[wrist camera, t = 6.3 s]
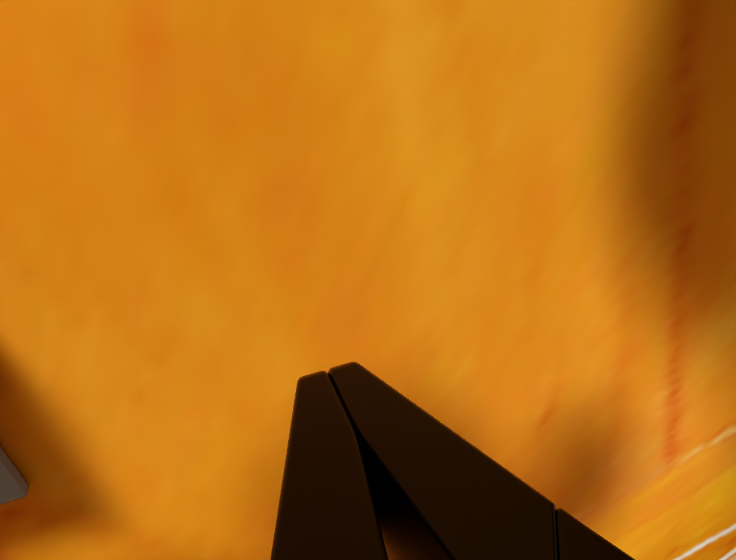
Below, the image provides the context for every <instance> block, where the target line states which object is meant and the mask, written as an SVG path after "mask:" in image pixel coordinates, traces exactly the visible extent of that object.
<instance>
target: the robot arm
mask: <svg viewBox="0 0 736 560" xmlns="http://www.w3.org/2000/svg"><path fill="white" fill-rule="evenodd" d="M271 560H635V559H633V558H632V557H630V556H629V555H628V554H626V553H625V552H623V551H622V550H620V549H619V548H617V547H616V546H614V545H613V544H611V543H610V542H608V541H607V540H605V539H604V538H603V537H601V536H600V535H598V534H597V533H595V532H594V531H592V530H591V529H589V528H588V527H586V526H585V525H584V524H582V523H581V522H580V521H578V520H577V519H575V518H574V517H573V516H571V515H570V514H568V513H567V512H566V511H564V510H563V509H561V508H558V509H557V510H556V508H555V504H554V503H553V502H551V501H550V500H549V499H547V498H546V497H544V496H543V495H542V494H540V493H539V492H537V491H536V490H535V489H533V488H532V487H530V486H529V485H528V484H526V483H525V482H523V481H522V480H521V479H519V478H518V477H516V476H515V475H514V474H512V473H511V472H509V471H508V470H507V469H505V468H504V467H502V466H501V465H500V464H498V463H497V462H495V461H494V460H493V459H491V458H490V457H488V456H487V455H486V454H484V453H483V452H481V451H480V450H479V449H477V448H476V447H474V446H473V445H472V444H470V443H469V442H468V441H466V440H465V439H463V438H462V437H461V436H459V435H458V434H456V433H455V432H454V431H452V430H451V429H449V428H448V427H447V426H445V425H444V424H442V423H441V422H440V421H438V420H437V419H435V418H434V417H433V416H431V415H430V414H428V413H427V412H426V411H424V410H423V409H421V408H420V407H419V406H417V405H416V404H414V403H413V402H412V401H410V400H409V399H407V398H406V397H405V396H403V395H402V394H400V393H399V392H398V391H396V390H395V389H393V388H392V387H391V386H389V385H388V384H386V383H385V382H384V381H382V380H381V379H379V378H378V377H377V376H375V375H374V374H372V373H371V372H370V371H368V370H367V369H366V368H364V367H363V366H361V365H360V364H358V363H356V362H350V363H346V364H343V365H340V366H336V367H333V368H331V369H330V370H329V371H328V373H327V372H326V371H319V372H316V373H313V374H309V375H306V376H303V377H300V378H299V380H298V382H297V387H296V394H295V401H294V407H293V414H292V421H291V427H290V434H289V440H288V447H287V454H286V460H285V467H284V474H283V480H282V487H281V494H280V500H279V507H278V514H277V520H276V527H275V533H274V540H273V547H272V553H271Z"/></svg>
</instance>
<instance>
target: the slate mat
mask: <svg viewBox="0 0 736 560" xmlns="http://www.w3.org/2000/svg"><path fill="white" fill-rule="evenodd" d="M28 487H29V486H28V484H27V483H26V481H25V480H24V479H23V477H22V476H21V475H20V473H19V472H18V470H17V469H16V468H15V466H14V465H13V464H12V462H11V461H10V459H9V458H8V457H7V455H6V454H5V453H4V451H3V450H2V448H1V447H0V505H1V504H4V503H7V502H10V501H13V500H16V499H19V498H22V497H25V496H27V492H28Z"/></svg>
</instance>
